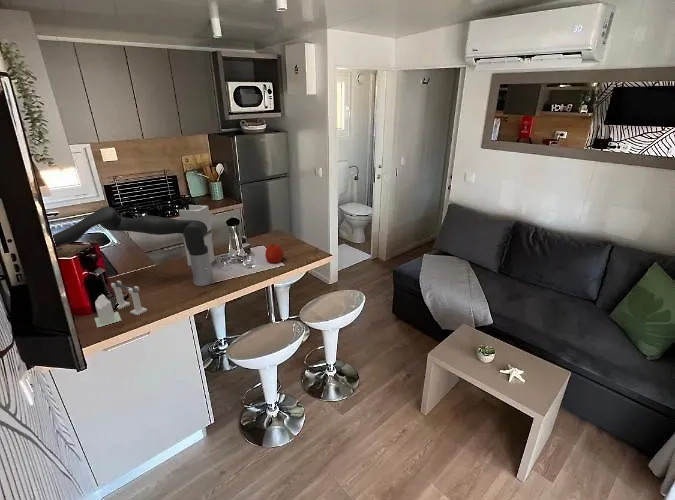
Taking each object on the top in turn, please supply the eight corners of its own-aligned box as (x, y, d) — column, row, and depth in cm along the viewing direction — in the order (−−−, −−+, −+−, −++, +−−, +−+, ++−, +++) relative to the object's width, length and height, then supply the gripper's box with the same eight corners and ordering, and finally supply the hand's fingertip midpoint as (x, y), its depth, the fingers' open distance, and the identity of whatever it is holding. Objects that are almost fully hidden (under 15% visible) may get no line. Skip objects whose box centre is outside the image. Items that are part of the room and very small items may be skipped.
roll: (89, 298, 149) (97, 292, 154) (96, 322, 154) (104, 315, 159) (104, 298, 149) (111, 291, 155) (111, 322, 154) (118, 315, 159)
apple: (287, 259, 218) (286, 243, 214) (275, 265, 210) (274, 249, 206) (274, 255, 224) (272, 239, 220) (261, 261, 215) (260, 245, 211)
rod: (113, 286, 164) (112, 283, 163) (116, 284, 165) (115, 282, 164) (136, 293, 157) (135, 290, 157) (138, 292, 159) (138, 289, 158)
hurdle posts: (113, 307, 167) (107, 283, 162) (123, 302, 171) (117, 279, 166) (137, 316, 160) (131, 291, 155) (147, 310, 164) (142, 287, 159)
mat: (118, 312, 162) (117, 311, 162) (121, 321, 156) (121, 320, 156) (94, 319, 157) (94, 318, 157) (97, 328, 151) (97, 327, 150)
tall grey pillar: (216, 262, 214) (208, 205, 200) (207, 270, 204) (198, 211, 191) (198, 261, 215) (189, 204, 202) (188, 268, 206) (178, 210, 192)
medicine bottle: (243, 258, 220) (241, 240, 215) (234, 255, 223) (232, 237, 219) (251, 254, 225) (249, 236, 221) (243, 252, 229) (241, 234, 224)
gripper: (38, 254, 149) (60, 261, 143) (73, 243, 161) (96, 249, 155) (43, 270, 152) (65, 278, 146) (78, 258, 164) (100, 265, 157)
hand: (81, 263), depth 150 cm, fingers open, 8 cm apart
